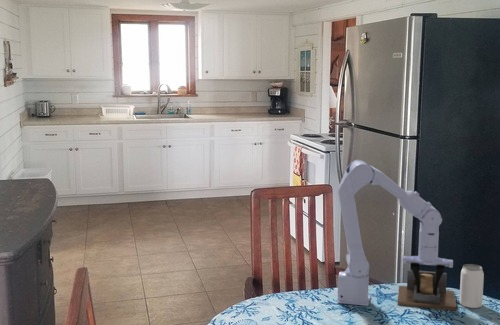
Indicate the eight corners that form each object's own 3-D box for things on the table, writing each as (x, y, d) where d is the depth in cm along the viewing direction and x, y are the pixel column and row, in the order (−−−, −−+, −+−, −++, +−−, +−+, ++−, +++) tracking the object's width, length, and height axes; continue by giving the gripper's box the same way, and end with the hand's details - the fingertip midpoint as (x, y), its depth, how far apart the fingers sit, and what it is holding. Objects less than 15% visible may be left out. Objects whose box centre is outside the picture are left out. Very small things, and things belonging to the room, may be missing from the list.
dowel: (419, 299, 171) (419, 277, 170) (419, 294, 175) (419, 273, 174) (432, 300, 170) (433, 278, 169) (433, 295, 174) (433, 274, 173)
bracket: (397, 304, 170) (398, 282, 169) (399, 289, 183) (399, 268, 182) (456, 310, 166) (457, 287, 164) (453, 294, 178) (454, 273, 177)
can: (484, 309, 166) (486, 271, 164) (461, 308, 167) (463, 270, 166) (479, 301, 172) (481, 264, 170) (457, 299, 174) (459, 263, 172)
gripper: (403, 247, 168) (402, 289, 170) (454, 250, 164) (452, 294, 166) (404, 240, 175) (402, 281, 177) (453, 244, 171) (451, 285, 173)
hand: (426, 287), depth 172 cm, fingers open, 5 cm apart
